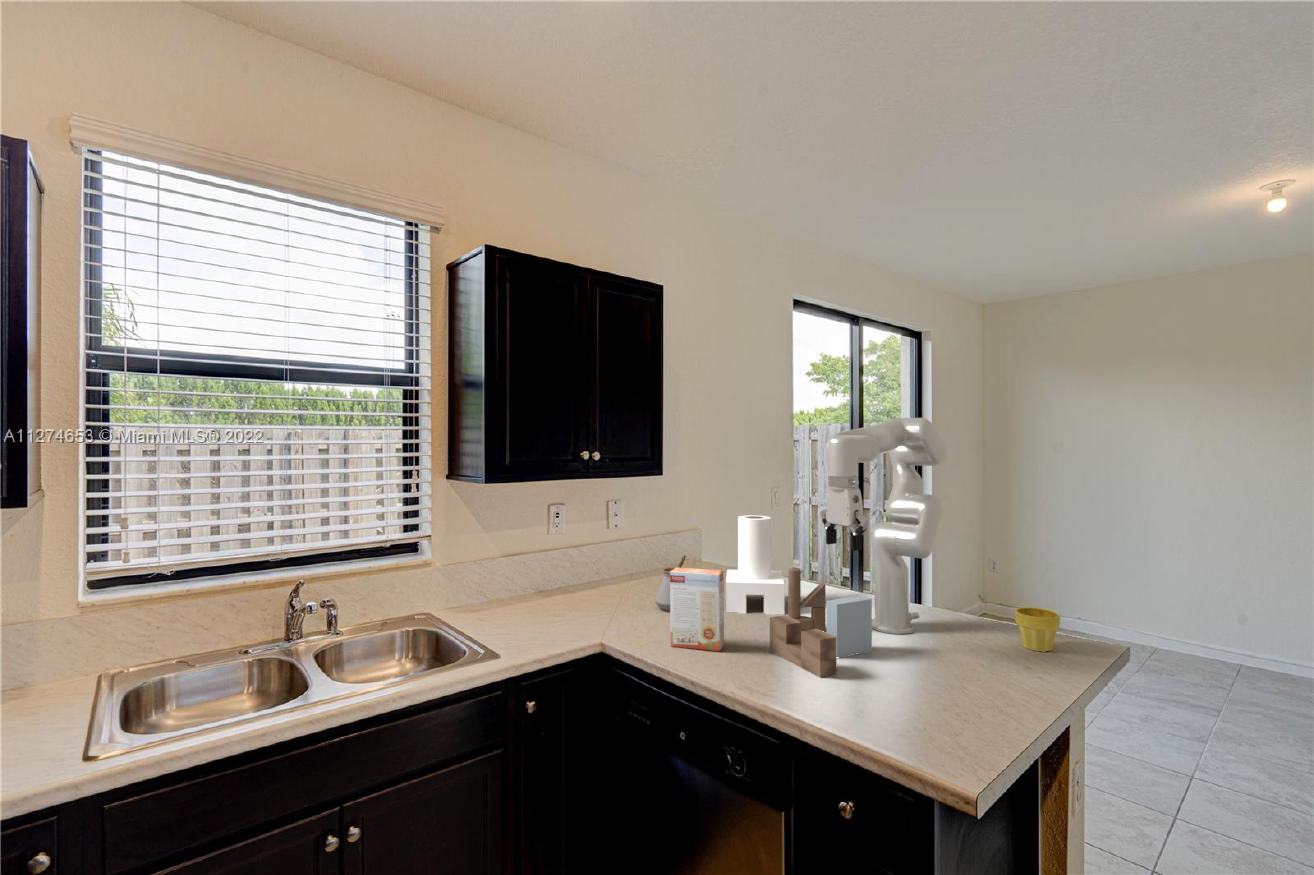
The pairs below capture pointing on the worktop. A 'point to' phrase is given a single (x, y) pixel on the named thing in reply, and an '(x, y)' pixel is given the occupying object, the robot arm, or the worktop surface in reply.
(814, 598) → the wooden block structure
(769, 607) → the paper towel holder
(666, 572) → the coffee pot
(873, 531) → the robot arm
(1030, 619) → the plant pot
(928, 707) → the worktop surface
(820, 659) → the walnut crosspiece
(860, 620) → the pale blue tall box
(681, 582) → the cracker box
